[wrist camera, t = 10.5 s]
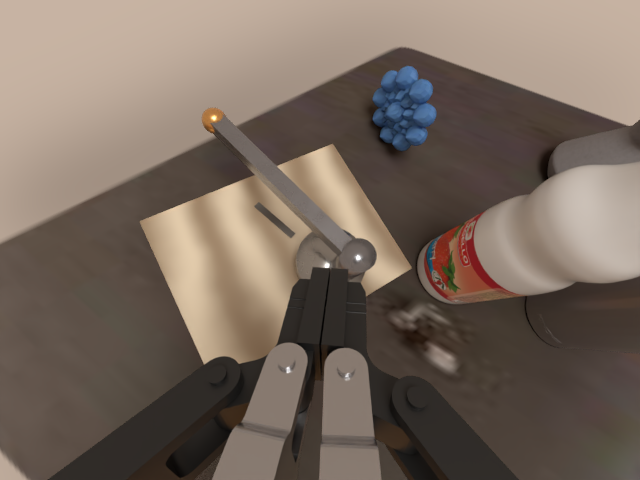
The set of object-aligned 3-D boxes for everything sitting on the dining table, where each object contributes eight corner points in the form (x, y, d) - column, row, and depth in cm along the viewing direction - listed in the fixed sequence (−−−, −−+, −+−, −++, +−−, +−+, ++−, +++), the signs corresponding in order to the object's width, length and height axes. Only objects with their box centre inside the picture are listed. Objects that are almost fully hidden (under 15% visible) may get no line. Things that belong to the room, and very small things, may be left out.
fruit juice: (463, 318, 38) (904, 296, 12) (404, 281, 38) (704, 176, 12) (484, 261, 41) (868, 141, 15) (429, 227, 41) (711, 48, 15)
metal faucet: (373, 265, 34) (407, 244, 26) (329, 313, 32) (351, 307, 23) (244, 140, 37) (236, 81, 28) (193, 175, 34) (166, 123, 25)
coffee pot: (525, 160, 48) (629, 91, 34) (569, 143, 51) (682, 74, 37) (600, 274, 44) (757, 248, 30) (644, 248, 47) (805, 213, 33)
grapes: (423, 162, 45) (475, 105, 33) (387, 173, 43) (429, 118, 32) (391, 104, 47) (429, 33, 36) (356, 112, 45) (384, 41, 34)
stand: (328, 156, 42) (332, 142, 39) (401, 272, 38) (412, 267, 35) (150, 230, 34) (138, 220, 31) (220, 383, 31) (214, 389, 28)
